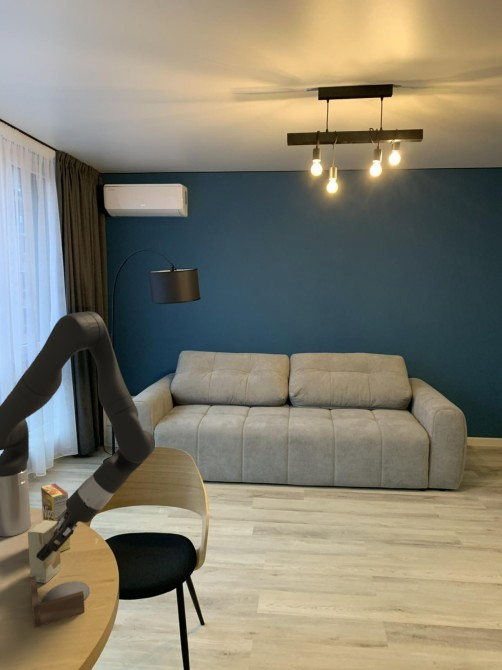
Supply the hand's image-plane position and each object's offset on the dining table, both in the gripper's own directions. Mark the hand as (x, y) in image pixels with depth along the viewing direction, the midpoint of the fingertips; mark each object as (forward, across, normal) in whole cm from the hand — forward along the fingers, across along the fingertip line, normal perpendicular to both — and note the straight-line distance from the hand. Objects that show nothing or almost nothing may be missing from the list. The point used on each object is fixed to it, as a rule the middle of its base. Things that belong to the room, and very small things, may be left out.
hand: (43, 548), depth 116 cm
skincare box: (+5, 0, +5) cm, 7 cm away
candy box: (+5, -14, +5) cm, 16 cm away
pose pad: (0, +10, +9) cm, 13 cm away
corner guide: (+1, +12, +8) cm, 14 cm away
